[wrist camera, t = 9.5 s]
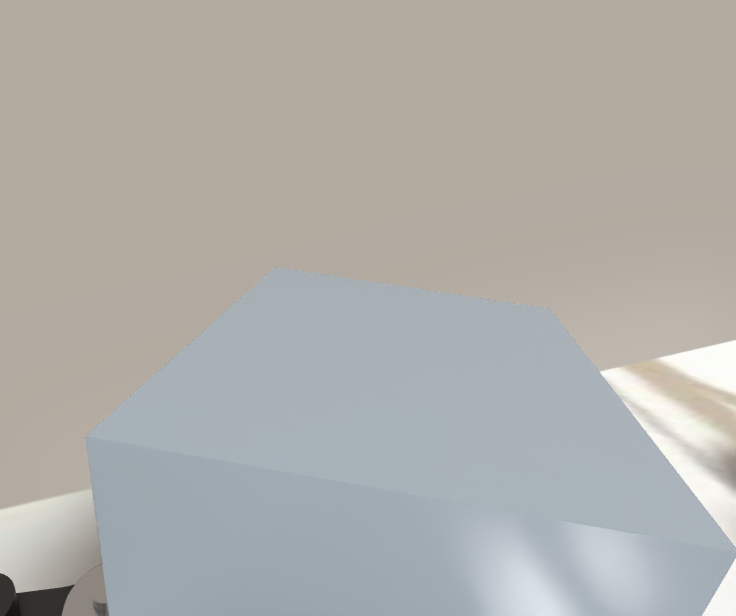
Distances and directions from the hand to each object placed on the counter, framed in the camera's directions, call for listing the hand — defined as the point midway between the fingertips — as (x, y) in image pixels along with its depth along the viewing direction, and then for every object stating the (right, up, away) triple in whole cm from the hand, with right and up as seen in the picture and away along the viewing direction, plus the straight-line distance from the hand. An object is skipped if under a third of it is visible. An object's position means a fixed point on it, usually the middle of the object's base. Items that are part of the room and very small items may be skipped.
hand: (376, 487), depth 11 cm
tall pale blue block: (-1, -7, 0) cm, 7 cm away
